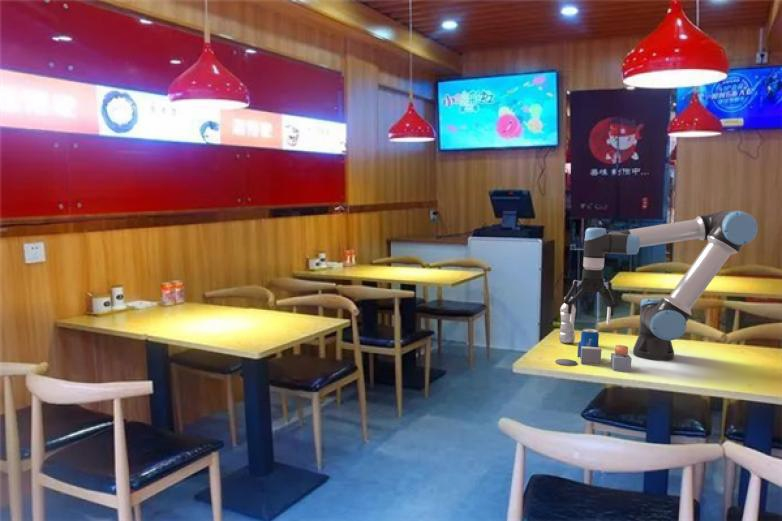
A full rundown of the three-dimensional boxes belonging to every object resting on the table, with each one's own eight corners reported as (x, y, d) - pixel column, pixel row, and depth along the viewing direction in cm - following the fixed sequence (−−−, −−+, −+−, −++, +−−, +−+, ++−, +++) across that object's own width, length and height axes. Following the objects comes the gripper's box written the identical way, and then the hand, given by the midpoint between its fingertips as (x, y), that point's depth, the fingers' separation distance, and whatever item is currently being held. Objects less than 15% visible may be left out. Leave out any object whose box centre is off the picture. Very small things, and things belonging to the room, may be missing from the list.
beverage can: (579, 361, 235) (580, 331, 234) (580, 357, 241) (582, 327, 240) (596, 363, 233) (598, 333, 231) (597, 359, 239) (599, 329, 237)
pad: (575, 360, 237) (575, 359, 237) (578, 366, 229) (578, 365, 229) (554, 359, 238) (554, 358, 238) (556, 365, 230) (556, 364, 230)
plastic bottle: (575, 345, 260) (577, 299, 258) (559, 344, 262) (561, 298, 259) (574, 341, 266) (576, 296, 264) (558, 340, 268) (560, 295, 266)
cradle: (595, 357, 242) (596, 341, 241) (600, 365, 231) (601, 348, 230) (577, 356, 243) (577, 340, 242) (581, 364, 232) (582, 347, 231)
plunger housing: (627, 367, 229) (627, 354, 228) (630, 371, 223) (631, 358, 222) (610, 366, 230) (611, 353, 229) (613, 370, 224) (614, 357, 223)
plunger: (625, 364, 228) (626, 345, 227) (628, 368, 224) (629, 348, 223) (613, 364, 229) (614, 344, 228) (615, 367, 224) (616, 347, 224)
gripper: (625, 268, 234) (621, 323, 237) (558, 265, 238) (555, 319, 241) (629, 271, 227) (625, 327, 229) (560, 268, 231) (557, 323, 233)
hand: (589, 323), depth 235 cm, fingers open, 13 cm apart
